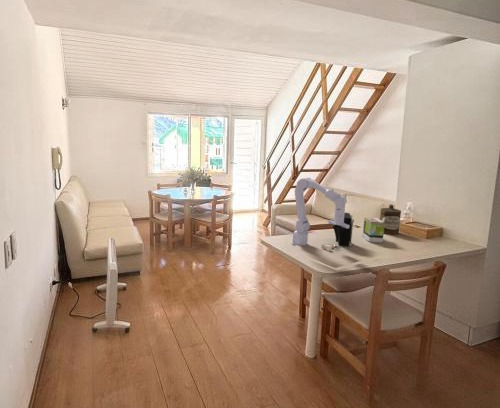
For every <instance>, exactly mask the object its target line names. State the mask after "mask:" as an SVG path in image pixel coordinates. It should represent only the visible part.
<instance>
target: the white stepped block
mask: <svg viewBox="0 0 500 408" xmlns="http://www.w3.org/2000/svg"><path fill="white" fill-rule="evenodd" d="M324 245H325V244H324ZM324 247H326V249H325V250H326V251H327V252H330V251H332V250H333V248H332V246H331V245H325V246H324Z"/></svg>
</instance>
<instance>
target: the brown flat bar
mask: <svg viewBox="0 0 500 408" xmlns="http://www.w3.org/2000/svg"><path fill="white" fill-rule="evenodd" d="M331 244H332V245H331V246H332V249H334V247H335V248H336V247H337V246H338V245H337V244H334V243H331ZM322 249H323V250H326V247H323V248H322Z"/></svg>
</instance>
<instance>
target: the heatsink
mask: <svg viewBox="0 0 500 408" xmlns="http://www.w3.org/2000/svg"><path fill="white" fill-rule="evenodd" d="M332 244H333V243H325V244H321V245H320V248H322V249H323V247H324V246H325V245H332ZM336 246H337V247H336V248H335V247H334V248H333V251H335V252H337V251H341V250H342V246H339V245H336Z"/></svg>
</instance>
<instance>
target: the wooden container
mask: <svg viewBox="0 0 500 408" xmlns="http://www.w3.org/2000/svg"><path fill="white" fill-rule="evenodd" d="M401 214H402V210H400V209H397V208H394V205H393V204H389V205H388V207H383V208H381V209H380V215H379V219H380V220H382V221H383V222H385V226H384V234H383V235H388V236H396V235H399V233H400V224H401Z"/></svg>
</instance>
